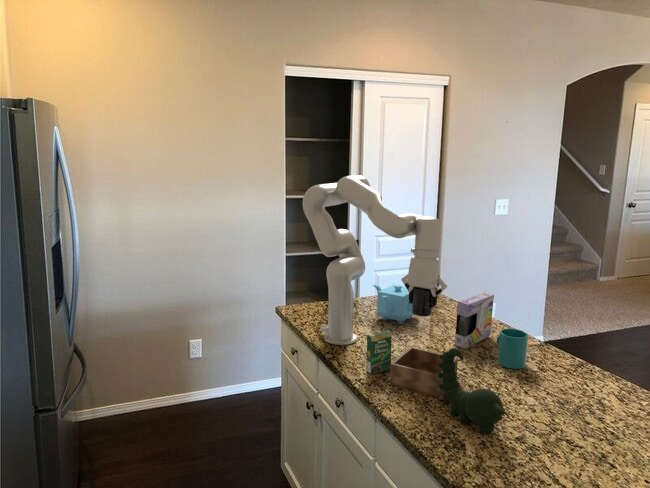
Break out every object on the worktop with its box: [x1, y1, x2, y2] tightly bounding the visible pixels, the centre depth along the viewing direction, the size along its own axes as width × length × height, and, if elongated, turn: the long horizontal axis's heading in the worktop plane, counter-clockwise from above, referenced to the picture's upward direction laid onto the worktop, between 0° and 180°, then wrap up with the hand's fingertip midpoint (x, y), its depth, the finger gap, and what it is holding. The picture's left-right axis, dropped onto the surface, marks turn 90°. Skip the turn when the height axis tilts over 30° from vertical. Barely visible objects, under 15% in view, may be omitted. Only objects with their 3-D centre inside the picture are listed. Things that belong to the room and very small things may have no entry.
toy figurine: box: [438, 347, 507, 435], centre depth 136 cm, size 9×19×25 cm
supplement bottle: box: [412, 287, 433, 317], centre depth 172 cm, size 7×7×12 cm
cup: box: [496, 328, 529, 370], centre depth 174 cm, size 9×12×11 cm
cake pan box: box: [454, 291, 495, 349], centre depth 192 cm, size 19×5×18 cm, turn 131°
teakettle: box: [372, 284, 415, 325], centre depth 216 cm, size 19×19×15 cm
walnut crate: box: [389, 346, 459, 399], centre depth 159 cm, size 16×16×7 cm
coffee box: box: [366, 330, 392, 375], centre depth 166 cm, size 8×3×13 cm, turn 115°
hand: (422, 304), depth 172 cm, fingers closed on supplement bottle, 6 cm apart
